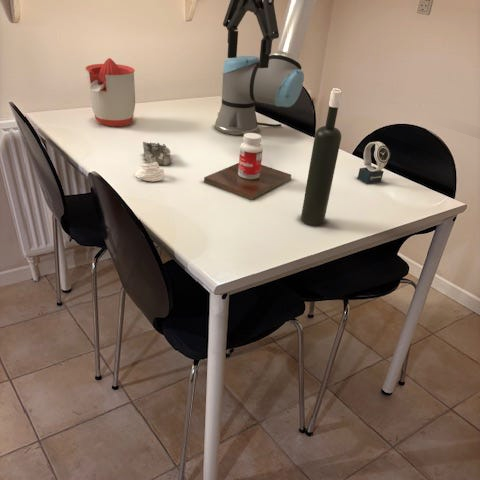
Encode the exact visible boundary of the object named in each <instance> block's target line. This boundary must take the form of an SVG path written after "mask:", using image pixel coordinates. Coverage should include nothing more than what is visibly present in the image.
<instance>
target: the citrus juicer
mask: <svg viewBox="0 0 480 480" xmlns="http://www.w3.org/2000/svg"><path fill="white" fill-rule="evenodd" d="M85 71H86V76H87V85H88V86H87V87H88V95H89V96H88V97H89V101H90V105H91V109H92V112H93V115H94V118H95V119H96V121H97V123H98V124H100V125H103V126H109V127H115V128H119V127H123V126H128V125H130V124H131V123H132V122H133V118H134V116H135V115H134V114H135V109H136V108H135V107H136V86H135V85H136V83H135V71H136V70H135V68H134V67H132V66H129V65H126V64H125V65H124V64H117V63H116V62H115V61H114V60H113V59H112V58H110V57H108V58H107V59H106V60H105V61H104V62H103V63H95V64H89V65H87V66H86V67H85Z"/></svg>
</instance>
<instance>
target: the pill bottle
mask: <svg viewBox="0 0 480 480" xmlns="http://www.w3.org/2000/svg"><path fill="white" fill-rule="evenodd" d="M261 142H262V135H261V134H259V133H257V132H256V133H246V134H244V135H243V142H241V144H240V146H239V157H238V163H239V167H238V175H239V176H240V177H242V178H244V179H249V180H251V179H257V178H259V176H260V170H261V165H262V161H263V160H262V159H263V151H264V147H263V145H262V144H261Z"/></svg>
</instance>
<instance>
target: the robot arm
mask: <svg viewBox="0 0 480 480" xmlns="http://www.w3.org/2000/svg"><path fill="white" fill-rule="evenodd" d="M316 2H317V0H288V1H287V4H286V8H285V11H284V15H283V18H282V22H281V26H280V28H279V27H278V21H277V15H276V10H275V0H230V1H229V4H228V7H227V10H226V13H225V16H224V19H223V22H222V26H223V27H225V28H226V30H227V58H226V59H225V60H224V62H223V69H222V86H221V88H222V89H221V104H220V105H221V106H220V108H219V111H217V117H216V120H215V125H214V127H215V130H217V131H218V132H220V133H223V134H226V135H231V136H244V134H246V133H256V134H257V133H258V131H259V126H264V127H271V128H276V127H277V128H279V127H282V126H283V125H282V123H275V124H274V123H273V124H272V123H266V122H258V117H257V111H256V103H260V104H265V105H271V106H275V107H278V108H280V107H282V108H291V107H292V106H294V104H295V103H296V102H297V101H298V99H299V97H300V95H301V92H302V89H303V86H304V81H305V74H304V71H303V70H302V67H303V66H302V64H301V62H300V58H301V55H302V51H303V48H304V44H305V41H306V37H307V35H308V30H309V26H310V23H311V19H312V16H313V12H314V9H315V5H316ZM247 12H250V13H253V14H254V16H255V17H256V21H257V23H258V25H259V29H260V32H261V34H262V38H261V40H260V49H259V51H260V52H259V56H255V55H238V44H239V43H238V42H239V31H238V30H239V29H238V27H239V26H240V23H241V22H242V20H243V19H244V17H245V15H246V14H247ZM279 29H280V30H279ZM275 39H276V40H277V41H276V44H275V47H274V51H273V52H272V47H273V41H274V40H275Z"/></svg>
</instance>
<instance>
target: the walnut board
mask: <svg viewBox="0 0 480 480" xmlns="http://www.w3.org/2000/svg"><path fill="white" fill-rule="evenodd" d="M238 167H239V162H237V163H235V164H233V165H230V166H228V167H225V168H223V169H220V170H217V171H216V172H213V173H211V174H209V175H207V176H203V183H205V184H207V185H210V186H213V187H216V188H218V189H219V190H223V191H226V192H229V193H231V194H234V195H237V196H239V197H242V198H245V199H247V200H250V201H253V200H255V199H257V198H258V197H260V196H263V195H264V194H267V193H268V192H270V191H272V190H274V189H277V188H278V187H279V186H281V185H283V184H285V183H287V182H290V181H291V180H292V174H291V173H288V172H284V171H282V170H279V169H275V168H272V167H270V166H267V165H263V164H261V170H260V176H259V178H257V179H251V180H249V179H244V178H242V177H240V176H239V175H238Z"/></svg>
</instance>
